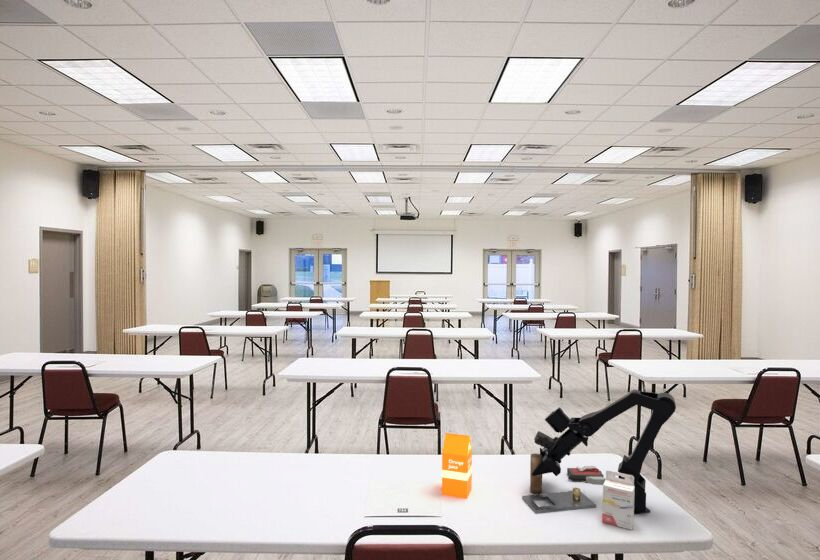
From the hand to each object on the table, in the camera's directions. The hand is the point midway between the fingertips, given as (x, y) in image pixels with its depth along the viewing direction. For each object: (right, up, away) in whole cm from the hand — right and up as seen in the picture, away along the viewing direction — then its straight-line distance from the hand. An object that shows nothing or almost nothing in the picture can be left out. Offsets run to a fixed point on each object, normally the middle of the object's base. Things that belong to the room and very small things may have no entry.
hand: (532, 472), depth 167 cm
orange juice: (-26, -7, -1) cm, 27 cm away
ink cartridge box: (+21, -7, -21) cm, 30 cm away
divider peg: (+1, -7, 0) cm, 7 cm away
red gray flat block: (+25, -7, +10) cm, 28 cm away
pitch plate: (+7, -7, -8) cm, 13 cm away
